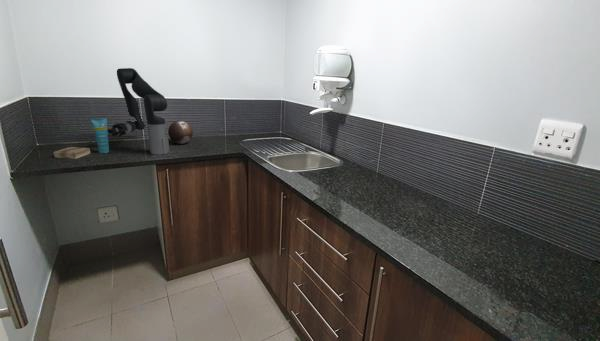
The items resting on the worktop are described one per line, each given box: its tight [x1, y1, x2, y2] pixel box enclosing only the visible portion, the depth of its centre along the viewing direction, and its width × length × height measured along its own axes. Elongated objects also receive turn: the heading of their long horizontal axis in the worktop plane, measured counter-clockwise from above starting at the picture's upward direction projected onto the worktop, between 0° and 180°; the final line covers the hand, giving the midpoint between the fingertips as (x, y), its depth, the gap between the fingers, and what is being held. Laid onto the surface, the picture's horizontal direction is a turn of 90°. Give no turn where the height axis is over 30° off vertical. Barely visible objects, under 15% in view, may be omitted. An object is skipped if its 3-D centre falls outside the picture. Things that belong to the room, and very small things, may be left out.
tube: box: [90, 117, 110, 154], centre depth 161 cm, size 7×5×19 cm, turn 134°
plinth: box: [53, 146, 91, 160], centre depth 155 cm, size 11×11×3 cm
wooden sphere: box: [167, 120, 194, 145], centre depth 191 cm, size 15×15×15 cm
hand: (104, 133), depth 164 cm, fingers open, 8 cm apart
